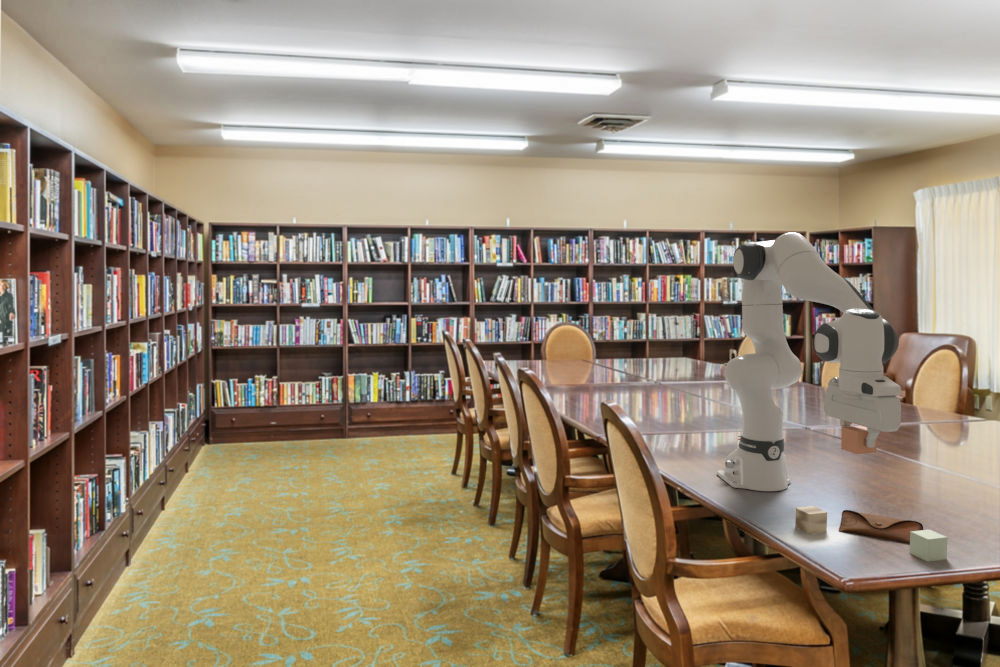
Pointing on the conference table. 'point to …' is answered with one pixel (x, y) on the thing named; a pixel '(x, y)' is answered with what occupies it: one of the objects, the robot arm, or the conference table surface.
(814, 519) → the maple block
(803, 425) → the conference table surface
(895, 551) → the conference table surface
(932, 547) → the sage block
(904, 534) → the sunglasses case
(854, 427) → the rust block
